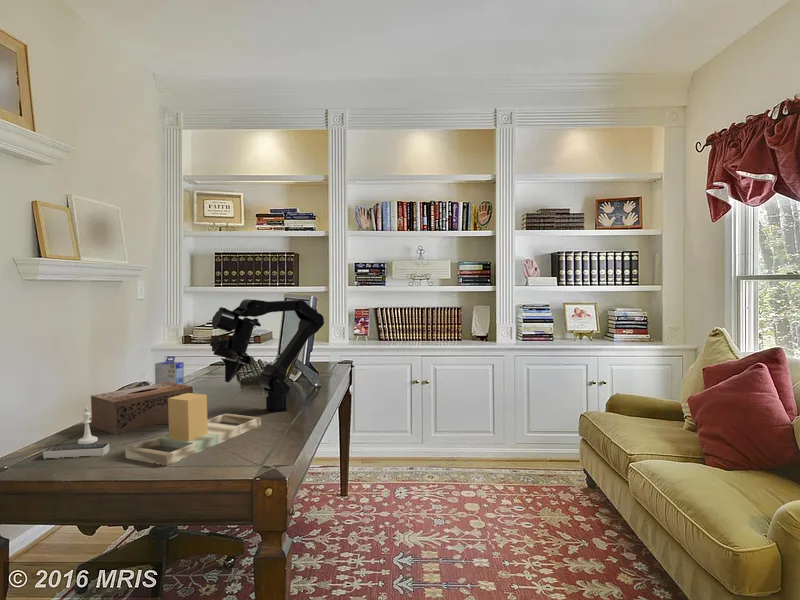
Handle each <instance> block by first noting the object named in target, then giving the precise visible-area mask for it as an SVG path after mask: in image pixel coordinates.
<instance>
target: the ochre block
mask: <svg viewBox="0 0 800 600" xmlns="http://www.w3.org/2000/svg"><path fill="white" fill-rule="evenodd" d="M168 415H169V421H168V434H169V438H171V439H178V440H185V441H191V440H193V439H196V438H198V437H201V436H203V435H206V434H208V424H207V420H208V395H207V394H201V393H194V392H193V393H185V394H182V395H178V396H175V397H171V398H168Z"/></svg>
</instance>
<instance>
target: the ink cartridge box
mask: <svg viewBox="0 0 800 600" xmlns="http://www.w3.org/2000/svg"><path fill="white" fill-rule="evenodd" d="M175 359H176V356H169V355H168V356H166V359H165V361H161V362H156V363H154V384H159V383H164V382H172V383H177V384H182V385H185V384H184V383H185V382H184V381H185V380H184V379H185V376H184V374H185V372H184V371H185V370H184V362H182V361H177V362H176V361H175Z"/></svg>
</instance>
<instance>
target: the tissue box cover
mask: <svg viewBox="0 0 800 600" xmlns="http://www.w3.org/2000/svg"><path fill="white" fill-rule="evenodd" d="M193 387H194V386H192V385H187V384H184V385H182V384H177V383H172V382H164V383H159V384H155V383H154V384H149V385H141V386H136V387H132V388H127V389H122V390H121V389H120V390H115V391H110V392H104V393H98V394H94V395H93V394H92V395H91V396H90V404H91V405H90V406H91V408H90V411H91V412H90V413H91V427H92V428H95V429H99V430H101V431H104V432H107V433H110V434H112V435H118V434H119V435H120V434H122V433H123V434H124V433H126V432H130V431H135V430H139V429H143V428H146V427H151V426H155V425H159V424H162V423H169V415H168V398H171V397H175V396H178V395H182V394H185V393H193V394H194V391H193V390H194V388H193Z"/></svg>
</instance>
